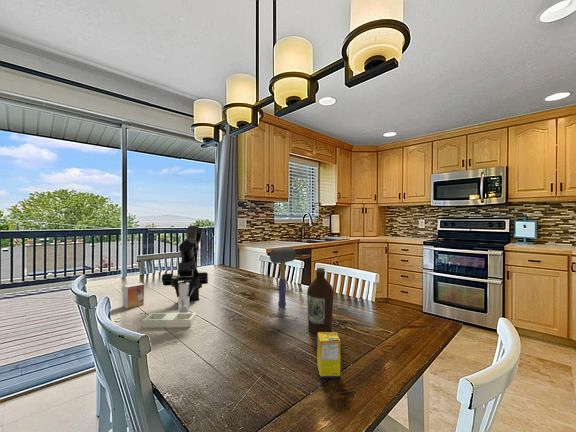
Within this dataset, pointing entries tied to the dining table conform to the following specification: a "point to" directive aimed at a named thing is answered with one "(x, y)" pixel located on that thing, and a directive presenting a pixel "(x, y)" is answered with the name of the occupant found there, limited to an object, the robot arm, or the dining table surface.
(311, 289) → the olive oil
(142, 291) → the small box
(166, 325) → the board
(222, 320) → the dining table surface
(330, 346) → the supplement box
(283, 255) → the rubber mallet
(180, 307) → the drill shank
